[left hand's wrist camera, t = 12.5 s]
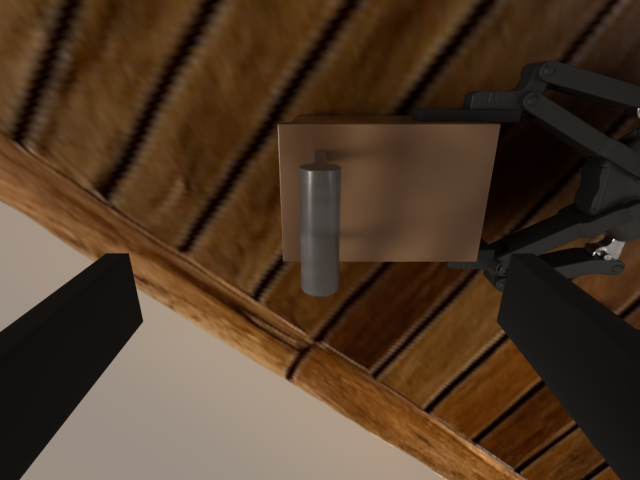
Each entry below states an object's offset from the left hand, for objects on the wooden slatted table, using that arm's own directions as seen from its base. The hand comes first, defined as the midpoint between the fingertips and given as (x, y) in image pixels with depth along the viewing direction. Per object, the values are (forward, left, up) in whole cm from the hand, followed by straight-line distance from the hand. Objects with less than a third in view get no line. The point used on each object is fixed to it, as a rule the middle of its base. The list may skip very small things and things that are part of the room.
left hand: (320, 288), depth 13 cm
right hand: (-4, +6, -15) cm, 17 cm away
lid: (-2, +3, -13) cm, 14 cm away
